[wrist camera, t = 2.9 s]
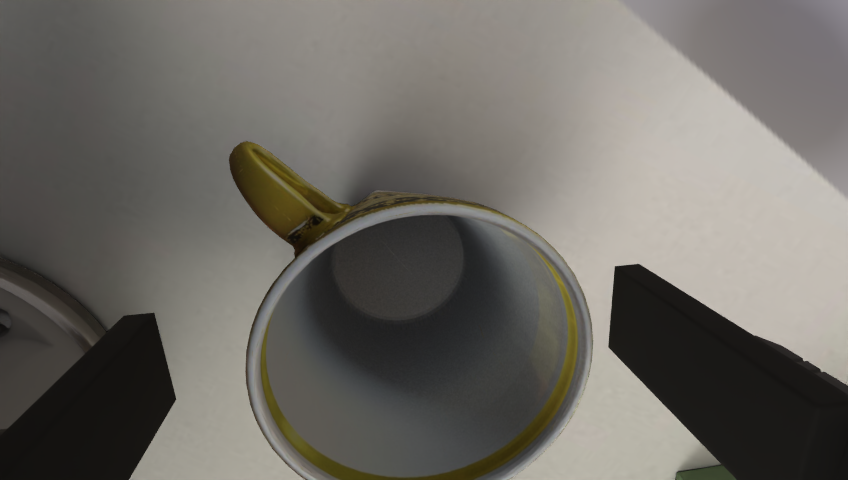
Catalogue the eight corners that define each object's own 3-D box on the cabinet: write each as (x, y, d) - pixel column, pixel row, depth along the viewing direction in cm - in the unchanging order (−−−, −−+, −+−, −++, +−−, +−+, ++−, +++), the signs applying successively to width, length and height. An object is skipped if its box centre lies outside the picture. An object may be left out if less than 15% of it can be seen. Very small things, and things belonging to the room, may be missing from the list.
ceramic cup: (535, 264, 24) (652, 378, 15) (385, 382, 25) (403, 560, 15) (368, 47, 20) (381, 11, 10) (194, 198, 21) (61, 290, 11)
